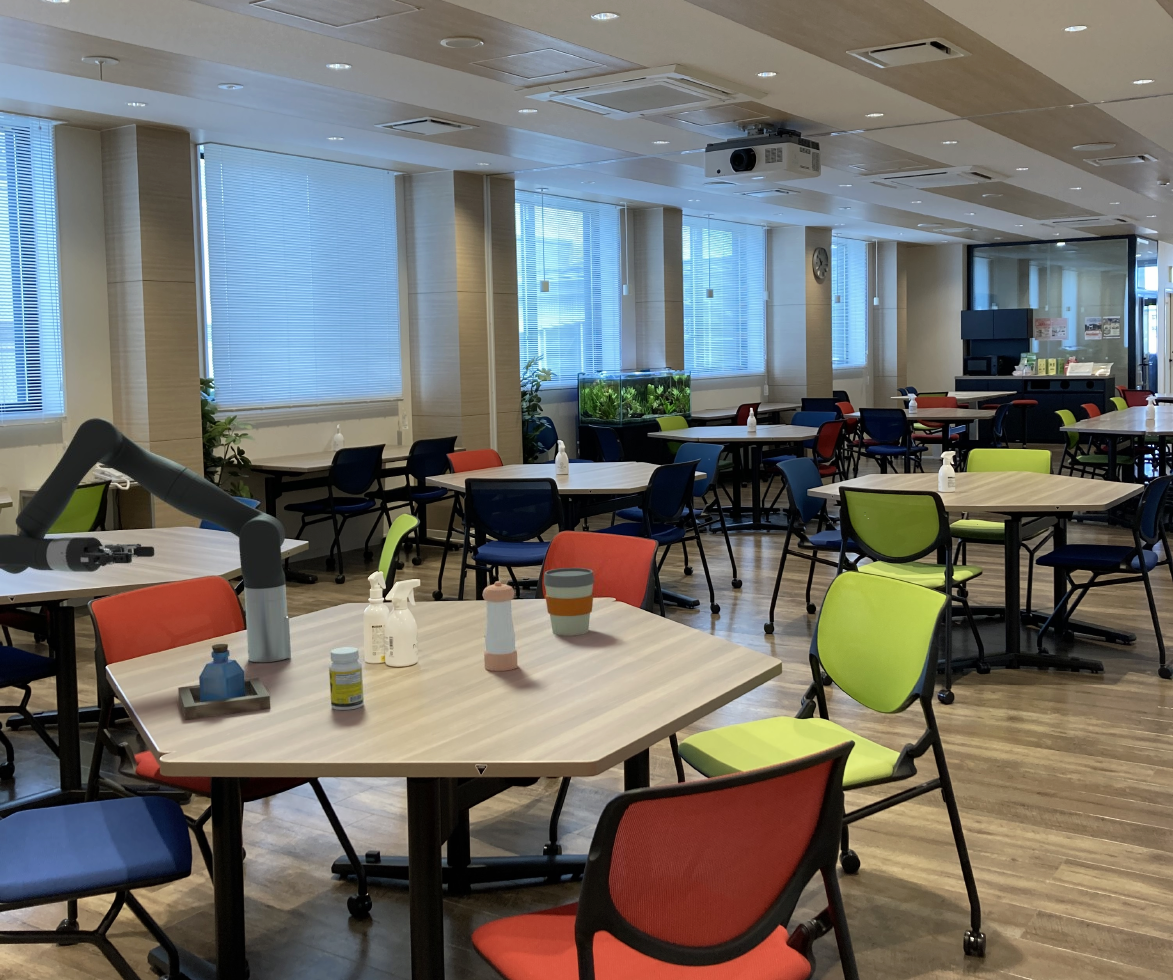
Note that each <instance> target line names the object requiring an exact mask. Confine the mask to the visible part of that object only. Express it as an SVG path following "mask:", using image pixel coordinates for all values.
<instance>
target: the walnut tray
mask: <svg viewBox="0 0 1173 980" xmlns="http://www.w3.org/2000/svg"><path fill="white" fill-rule="evenodd" d="M244 680H245V694H250V695H245V697H238V698H230V699H223V700H215V701H207V702H201V701H200V702H195V701H194V700H196V701H197V700H200V684H195V685H186V686H179V687H177V689H178V692H177V693H178V701H179V704H180V707H181V710H182V713H183V716H184V720H185V721H187V720H195V719H196V720H197V719H203V718H210V717H216V716H218V717H219V716H223V715H232V714H238V713H239V714H240V713H247V712H253V711H260V710H262V711H263V710H268V709H271V696H270V694H269V692H268V691H267V689H266V687H265V685H264V684H263V683H262V681H261V679H260V678H259V677H252V678H244Z"/></svg>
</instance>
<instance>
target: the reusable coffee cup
mask: <svg viewBox="0 0 1173 980" xmlns="http://www.w3.org/2000/svg"><path fill="white" fill-rule="evenodd" d="M543 575H544V577H543V585H544V586H545V591H546V592H545V593H546V594H545V595H544V597H545V602H546V607H547V608H546V609H547V613H548V615H549V618H550V624H551V629H552V631H551V632H552V633H553V634H555V635H559V636H580V635H583V634H587V633H588V632H589V628H590V627H589V626H590V617H591V613H592V611H593V602H594V592H593V586H594V584H595V578H594V571H593V570H592V569H590V568H582V567H562V568H561V567H560V568H556V569H549V570H547V571H545V572H544V574H543Z"/></svg>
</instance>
